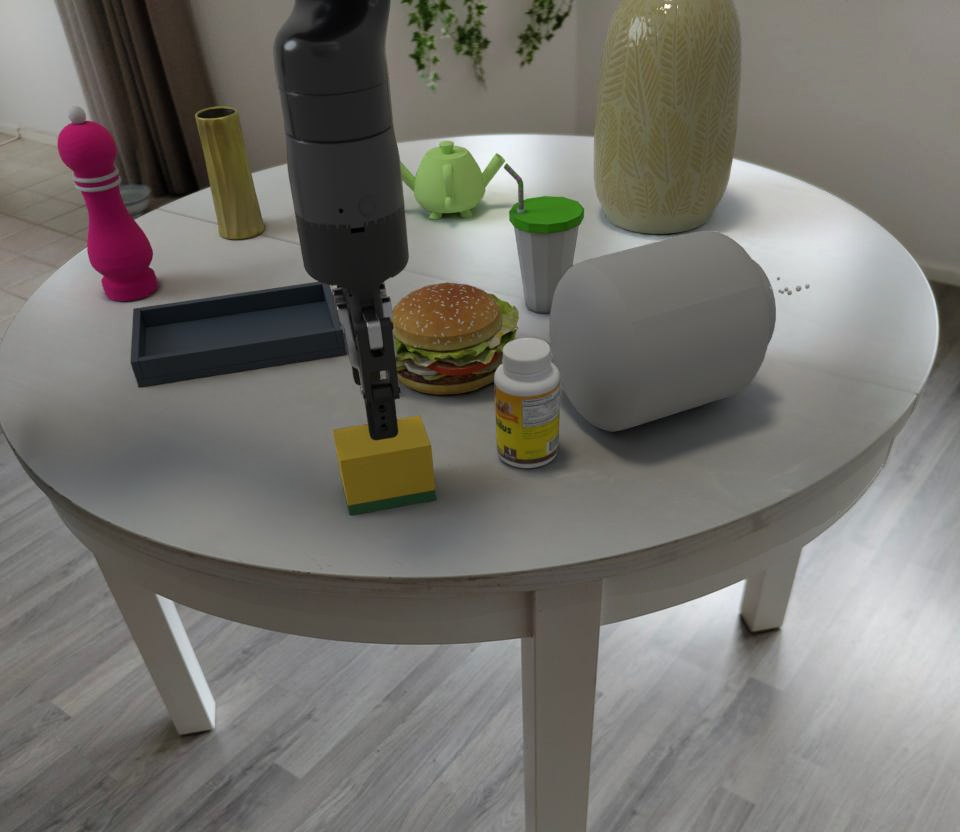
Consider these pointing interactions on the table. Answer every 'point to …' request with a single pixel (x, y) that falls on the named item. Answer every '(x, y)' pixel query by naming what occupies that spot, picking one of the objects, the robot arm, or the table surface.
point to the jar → (660, 328)
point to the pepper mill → (106, 210)
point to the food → (451, 337)
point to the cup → (544, 242)
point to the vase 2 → (667, 112)
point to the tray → (234, 333)
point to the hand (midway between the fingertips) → (375, 408)
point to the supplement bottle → (527, 404)
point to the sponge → (385, 467)
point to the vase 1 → (229, 173)
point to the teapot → (450, 180)
